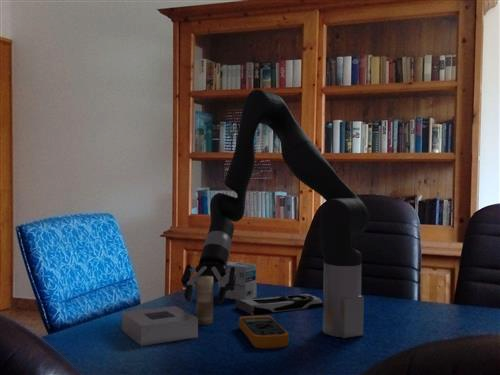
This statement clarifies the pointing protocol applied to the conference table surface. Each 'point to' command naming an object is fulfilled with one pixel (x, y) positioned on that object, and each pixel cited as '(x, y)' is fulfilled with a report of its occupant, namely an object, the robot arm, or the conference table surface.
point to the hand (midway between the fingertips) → (203, 301)
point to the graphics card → (278, 304)
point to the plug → (204, 299)
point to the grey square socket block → (159, 325)
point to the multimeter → (264, 331)
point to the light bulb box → (242, 281)
